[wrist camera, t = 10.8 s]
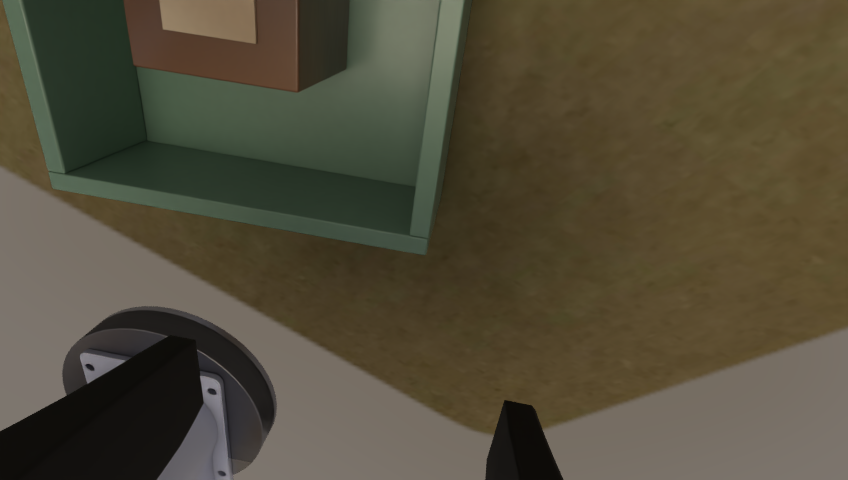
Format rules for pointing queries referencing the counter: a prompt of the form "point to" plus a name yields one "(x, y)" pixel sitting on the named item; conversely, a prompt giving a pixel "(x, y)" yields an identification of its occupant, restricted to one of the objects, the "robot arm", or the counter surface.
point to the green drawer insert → (253, 123)
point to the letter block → (241, 39)
